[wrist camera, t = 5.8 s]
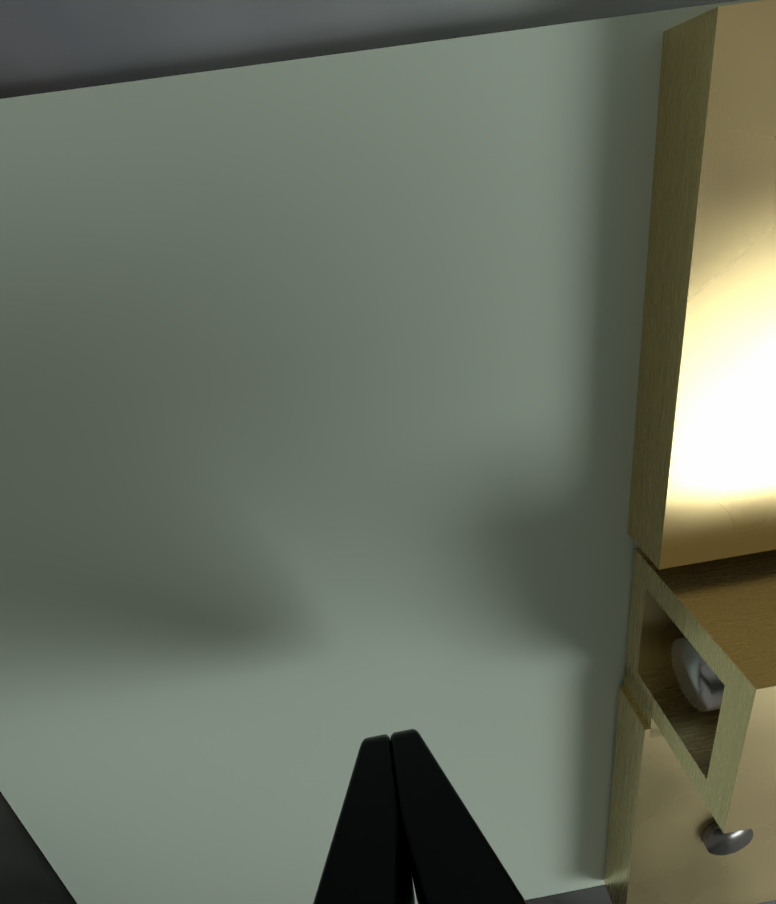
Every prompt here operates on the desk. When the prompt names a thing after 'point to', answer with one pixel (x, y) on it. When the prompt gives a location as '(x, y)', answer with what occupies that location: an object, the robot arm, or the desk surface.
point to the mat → (321, 451)
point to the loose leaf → (696, 739)
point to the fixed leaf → (710, 309)
